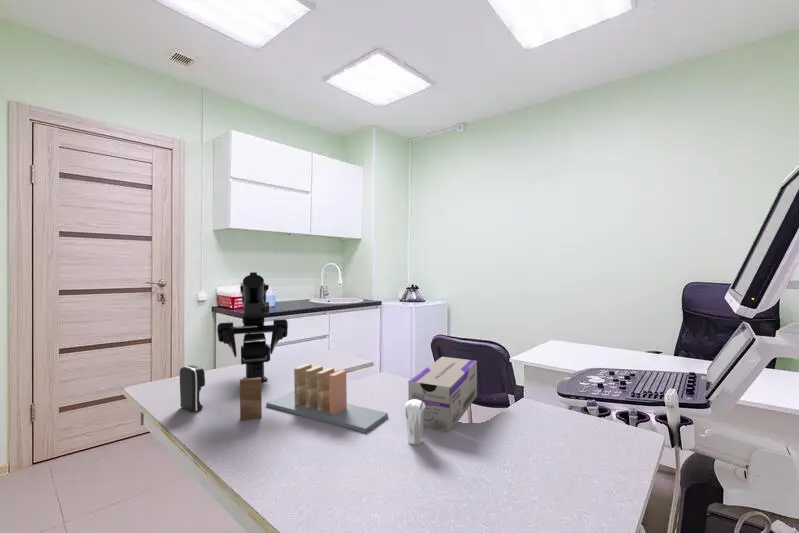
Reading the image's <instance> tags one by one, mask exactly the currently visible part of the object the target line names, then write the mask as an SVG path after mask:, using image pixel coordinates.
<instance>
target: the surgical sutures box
mask: <svg viewBox="0 0 799 533" xmlns="http://www.w3.org/2000/svg"><path fill="white" fill-rule="evenodd" d="M407 384H408V385H407V386H408V388H407V389H408V390H407V391H408V401H409V400H412V399H418V400H421V401H423V403H424V404H425V417H424V428H428V429H429V428H430V429H434V430H439V431H443V432H449V433H451V432H452V430H453V429H454V427H455V426H456V425H457V424H458V422H459V421H460V420H461V419H462V417H463V416H464V414H465V413H466V412H467V410H468V409H469V407H470V406H471V405H472V403H473V402H474V401H475V400H476V398H477V397H478V392H477V391H478V361H477V360H474V359H466V358H465V359H463V358H457V357H448V356H441V357H440V358H438V359H437V360H435V361H434V362H433V363H431V364H430V365H429V366H427V367H426V368H425V369H423V370H422V371H420V372H418V374H416V375H414V377H412V378H410V379H409V380H408V383H407ZM465 395H466V396H465Z"/></svg>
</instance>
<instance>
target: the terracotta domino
mask: <svg viewBox="0 0 799 533" xmlns="http://www.w3.org/2000/svg"><path fill="white" fill-rule="evenodd" d="M347 395H348V394H347V370H346V369H345V370H344V369H339V370H338V371H334V373H333V374H330V375H329V401H330V414H332V415H336V414H337V413H339V412H341V411H343V410H344V409H346V408H347V404H348V403H347V399H348V397H347Z"/></svg>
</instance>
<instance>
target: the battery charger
mask: <svg viewBox="0 0 799 533" xmlns="http://www.w3.org/2000/svg"><path fill="white" fill-rule="evenodd" d="M205 386H206V377H205V369H204V368H203V367H201V366H197V365H193V364H190V365H187V366H186V365H185V366H183V367H181V368H180V369H179V396H180V397H179V400H180V408H182V409H185V410H187V411H189V412H192V413H194V412H198V411H200V410H203V407H204V406H203V405H202V404H201V401H200V392H201V391H202V388H203V387H205Z"/></svg>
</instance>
